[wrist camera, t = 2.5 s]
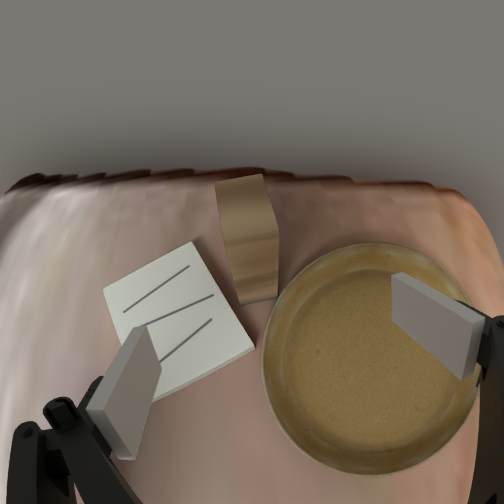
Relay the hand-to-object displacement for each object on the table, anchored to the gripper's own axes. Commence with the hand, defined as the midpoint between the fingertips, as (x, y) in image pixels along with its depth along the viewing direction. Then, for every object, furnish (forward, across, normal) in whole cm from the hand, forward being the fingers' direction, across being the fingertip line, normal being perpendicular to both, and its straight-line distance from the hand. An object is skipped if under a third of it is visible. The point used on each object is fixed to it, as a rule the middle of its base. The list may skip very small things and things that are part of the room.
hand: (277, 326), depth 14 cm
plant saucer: (+10, +11, -12) cm, 19 cm away
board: (+15, -10, -5) cm, 19 cm away
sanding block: (+18, 0, -3) cm, 18 cm away
